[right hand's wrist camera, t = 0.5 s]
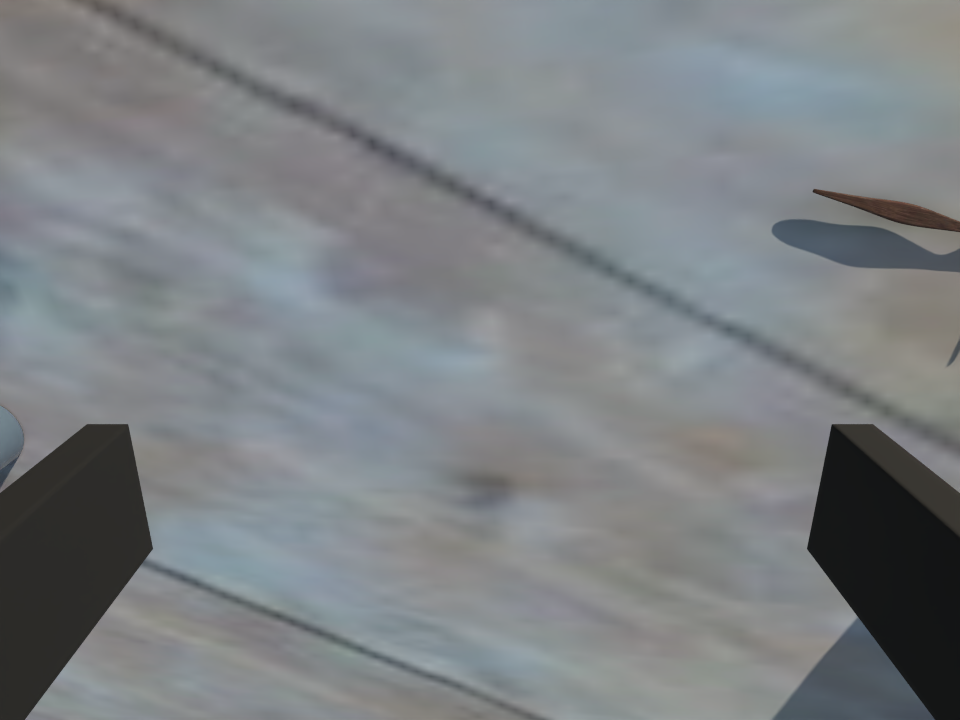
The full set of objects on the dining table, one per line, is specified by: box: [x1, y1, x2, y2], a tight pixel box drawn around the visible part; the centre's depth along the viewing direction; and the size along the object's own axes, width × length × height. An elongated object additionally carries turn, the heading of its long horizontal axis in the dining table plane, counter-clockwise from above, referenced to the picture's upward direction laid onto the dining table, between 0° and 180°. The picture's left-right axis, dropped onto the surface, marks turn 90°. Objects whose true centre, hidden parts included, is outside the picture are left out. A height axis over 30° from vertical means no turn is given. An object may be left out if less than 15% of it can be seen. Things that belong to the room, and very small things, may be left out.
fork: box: [813, 189, 960, 232], centre depth 38 cm, size 3×16×2 cm, turn 77°
